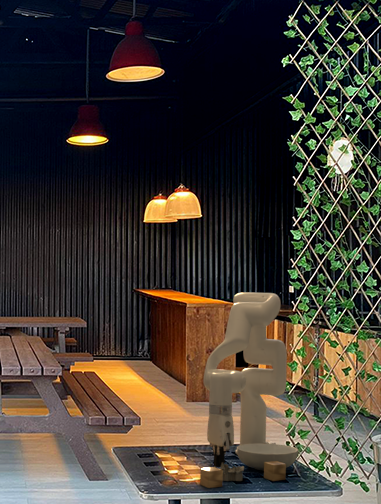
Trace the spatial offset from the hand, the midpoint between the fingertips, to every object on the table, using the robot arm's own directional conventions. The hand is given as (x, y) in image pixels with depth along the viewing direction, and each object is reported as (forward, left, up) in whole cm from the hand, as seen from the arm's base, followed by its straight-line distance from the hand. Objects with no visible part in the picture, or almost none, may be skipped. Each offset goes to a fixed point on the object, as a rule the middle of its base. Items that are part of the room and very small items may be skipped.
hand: (218, 466), depth 278 cm
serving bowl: (-19, 0, -2) cm, 19 cm away
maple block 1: (+12, +14, -2) cm, 18 cm away
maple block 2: (-12, +14, -2) cm, 19 cm away
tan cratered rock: (0, +8, -2) cm, 8 cm away
